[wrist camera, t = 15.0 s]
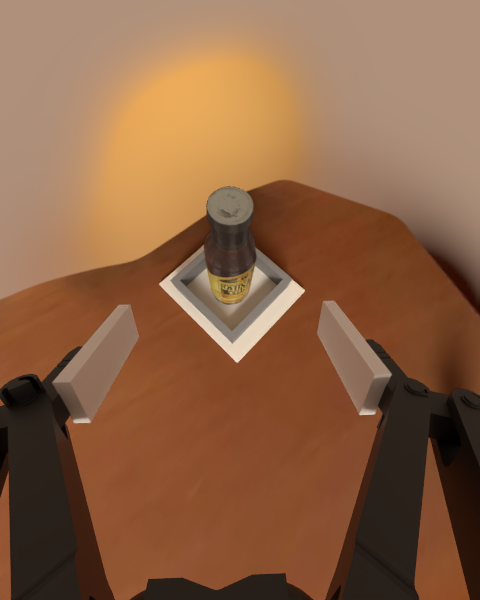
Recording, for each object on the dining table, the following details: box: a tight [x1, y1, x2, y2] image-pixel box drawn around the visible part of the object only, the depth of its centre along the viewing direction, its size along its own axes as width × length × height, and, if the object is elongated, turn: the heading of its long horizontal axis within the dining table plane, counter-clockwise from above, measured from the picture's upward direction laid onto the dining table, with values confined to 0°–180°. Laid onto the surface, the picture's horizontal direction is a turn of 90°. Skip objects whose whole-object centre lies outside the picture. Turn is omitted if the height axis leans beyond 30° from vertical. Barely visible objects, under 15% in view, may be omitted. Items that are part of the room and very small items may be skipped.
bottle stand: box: [159, 245, 305, 363], centre depth 37 cm, size 18×16×5 cm
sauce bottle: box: [204, 186, 257, 305], centre depth 29 cm, size 7×6×20 cm
